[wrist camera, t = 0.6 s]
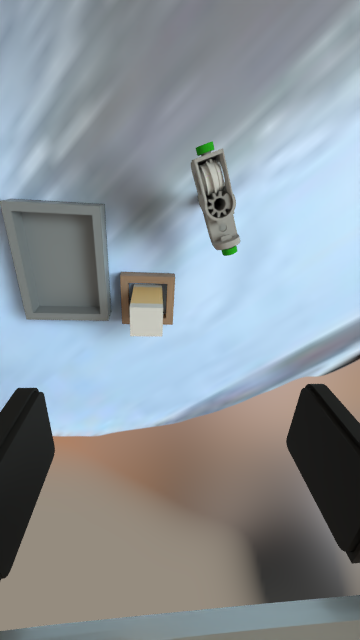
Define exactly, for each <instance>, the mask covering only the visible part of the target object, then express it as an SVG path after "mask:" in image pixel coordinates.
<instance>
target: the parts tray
mask: <svg viewBox="0 0 360 640" xmlns="http://www.w3.org/2000/svg"><path fill="white" fill-rule="evenodd" d="M0 205H1V210H2V214H3V218H4V223H5V227H6V231H7V236H8V240H9V244H10V249H11V253H12V258H13V262H14V266H15V271H16V275H17V279H18V284H19V288H20V292H21V297H22V301H23V306H24V310H25V314H26V319H30V320H96V321H108V320H109V317H110V314H111V298H110V283H109V267H108V251H107V236H106V220H105V204H93V203H76V202H58V201H41V200H23V199H8V200H2V201H0Z"/></svg>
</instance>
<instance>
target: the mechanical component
mask: <svg viewBox="0 0 360 640" xmlns="http://www.w3.org/2000/svg"><path fill="white" fill-rule="evenodd" d="M212 150H214V145H213V141H212V142H209V143H207V144H204V145H202V146H199V147H197V148H196V151H197V155H198V156H199V155H201V156H202V157H199V158H196V159H194V160H192V162H191V169H192V173H193V177H194V181H195V185H196V188H197V192H198V201H199V205H200V207H201V209H202V211H203V214H204V218H205V222H206V225H207V229H208V233H209V236H210V239H211V242H212V245H213V246H214V248H215V249H216V250H222V254H223V255H224V256H227V255H231V254H234V253H236V252H237V247H236V245H238V244H239V243H240V238H239V235H238V234H237V230H236V226H235V221H234V217H233V214H234V209H235V206H236V200H235V197H234V194H233V193H232V189H231V184H230V179H229V175H228V170H227V165H226V161H225V156H224V151H223V149H220V150H218V151H215V152H212V153H211V151H212ZM220 164H221V166H222V169H223V173H224V177H225V182H224V180H223V175H222V171H221V166H220Z"/></svg>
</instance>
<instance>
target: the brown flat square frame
mask: <svg viewBox="0 0 360 640" xmlns="http://www.w3.org/2000/svg"><path fill="white" fill-rule="evenodd" d="M129 283H155V284H167V296H166V314H163V324H169V325H173V306H174V288H175V274H171V273H141V272H121V275H120V284H121V306H122V324H130V303H129Z"/></svg>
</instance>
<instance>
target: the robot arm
mask: <svg viewBox="0 0 360 640" xmlns="http://www.w3.org/2000/svg"><path fill="white" fill-rule="evenodd" d="M286 442H287V447H288V450H289V452H290V454H291V456H292V457H293V459H294V461H295V463H296V465H297V467H298V469H299V471H300V473H301V474H302V477H303V479H304V481H305V482H306V484H307V486H308V488H309V490H310V492H311V494H312V496H313V498H314V500H315V502H316V503H317V506H318V507H319V509H320V511H321V513H322V515H323V517H324V519H325V521H326V523H327V525H328V527H329V529H330V531H331V533H332V534H333V536H334V538H335V540H336V542H337V544H338V546H339V547H340V548H341V550H343V551H346V553H347V555H348V557H349V559H350V561H351V562H352V563H360V423H359V422H358V421H357V420H356V419H355V418H354V417H353V415H352V414H351V413H350V412H349V411H348V410H347V409H346V407H344V405H343V404H342V403H341V402H340V401H339V400H338V398H337V397H336V396H335V395H334V394H333V393H332V392H331V391H330V389H329V388H328V387H327V386H326V385H324V384H308V385H306V387H305V388H303V389H302V390H301V393H300V396H299V400H298V403H297V406H296V410H295V413H294V416H293V419H292V423H291V426H290V429H289V433H288V436H287V441H286ZM54 451H55V448H54V441H53V437H52V432H51V427H50V422H49V417H48V412H47V407H46V402H45V397H44V394H43V392H39V391H38V389H37V388H18V389H17V390H16V391H15V392H14V393H13V395H12V396H11V398H10V399H9V401H8V402H7V403H6V405H5V406H4V408H3V409H2V411H1V412H0V580H1V579H2V578H6V576H8V574H9V572H10V570H11V568H12V565H13V562H14V560H15V557H16V554H17V552H18V549H19V547H20V544H21V541H22V538H23V536H24V533H25V531H26V528H27V526H28V523H29V520H30V518H31V515H32V512H33V510H34V507H35V504H36V502H37V499H38V497H39V494H40V491H41V489H42V486H43V483H44V481H45V478H46V476H47V473H48V470H49V468H50V465H51V462H52V460H53V457H54ZM0 640H360V595H356V596H346V597H334V598H323V599H312V600H301V601H289V602H279V603H268V604H258V605H247V606H236V607H226V608H216V609H205V610H195V611H185V612H174V613H164V614H154V615H144V616H135V617H125V618H115V619H105V620H96V621H86V622H77V623H66V624H56V625H47V626H39V627H31V628H23V629H16V630H7V631H0Z"/></svg>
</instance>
